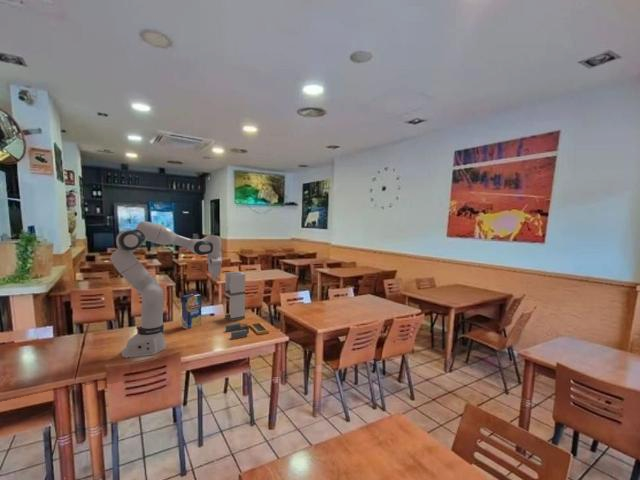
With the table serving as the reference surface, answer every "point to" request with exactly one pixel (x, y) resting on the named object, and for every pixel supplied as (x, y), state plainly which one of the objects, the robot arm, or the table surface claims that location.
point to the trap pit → (258, 328)
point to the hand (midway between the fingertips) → (213, 280)
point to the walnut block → (244, 327)
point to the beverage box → (191, 311)
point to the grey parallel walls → (236, 333)
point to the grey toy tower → (235, 295)
